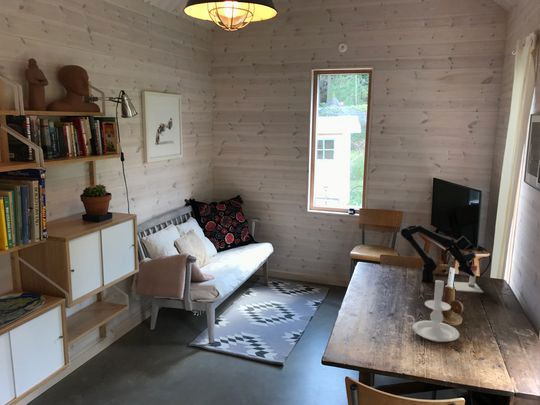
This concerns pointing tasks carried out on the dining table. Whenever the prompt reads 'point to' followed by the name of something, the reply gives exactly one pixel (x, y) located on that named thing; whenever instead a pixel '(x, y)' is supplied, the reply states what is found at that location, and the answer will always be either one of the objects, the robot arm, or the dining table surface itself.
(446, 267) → the lion figurine
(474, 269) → the marker
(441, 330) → the candlestick
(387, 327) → the dining table surface
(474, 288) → the notepad
